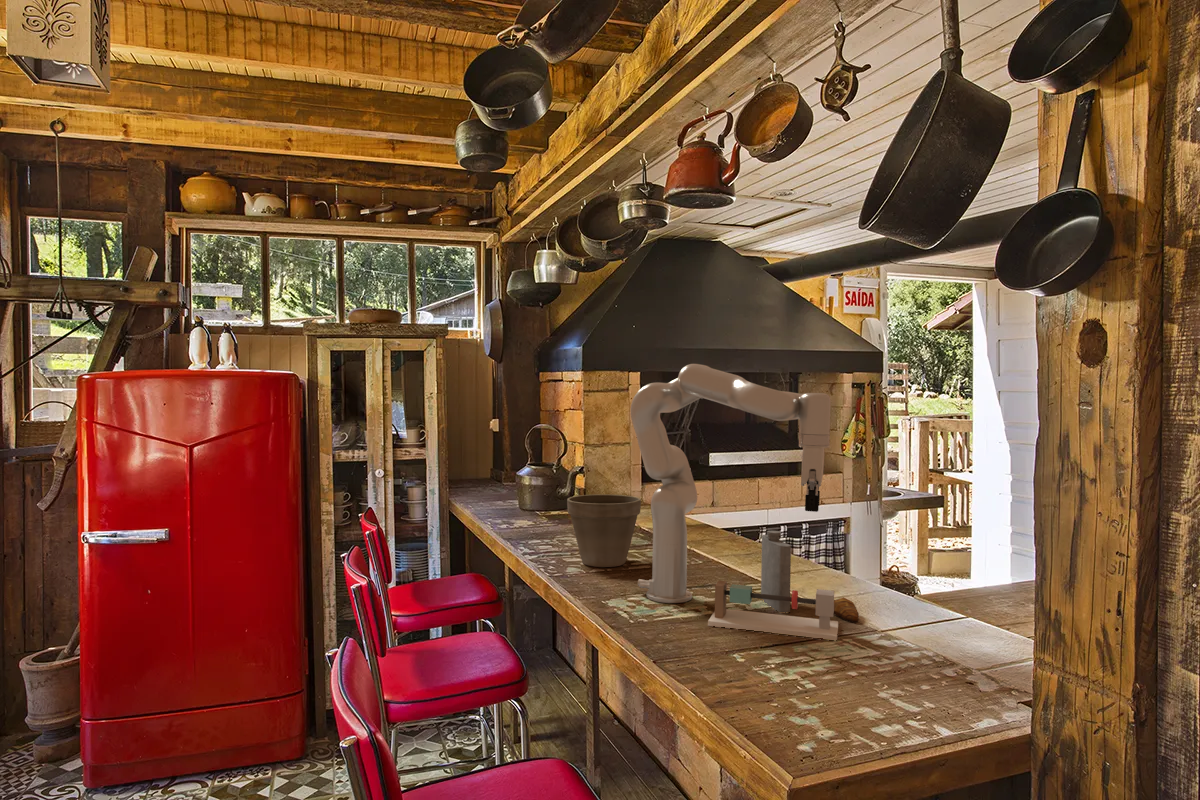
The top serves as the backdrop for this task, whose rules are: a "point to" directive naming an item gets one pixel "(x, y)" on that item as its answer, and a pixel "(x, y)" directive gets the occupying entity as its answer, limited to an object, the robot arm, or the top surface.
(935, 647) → the top surface
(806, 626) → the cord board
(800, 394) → the robot arm
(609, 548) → the plant pot
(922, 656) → the top surface
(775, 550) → the hip flask
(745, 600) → the sleeve
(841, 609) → the croissant
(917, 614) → the top surface
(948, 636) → the top surface
